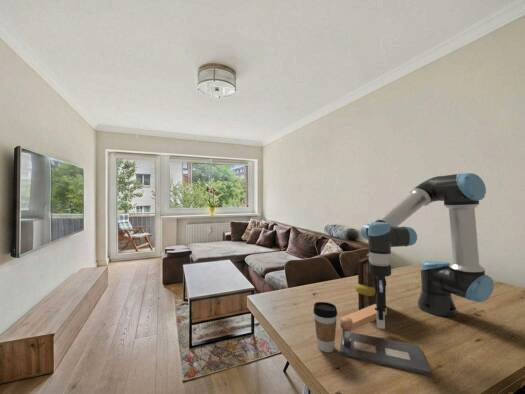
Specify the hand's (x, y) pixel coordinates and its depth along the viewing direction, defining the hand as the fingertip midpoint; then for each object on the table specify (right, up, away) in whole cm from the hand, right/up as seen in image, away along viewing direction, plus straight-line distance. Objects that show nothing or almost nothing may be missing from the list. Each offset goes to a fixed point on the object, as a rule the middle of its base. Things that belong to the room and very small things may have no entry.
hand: (380, 327), depth 86 cm
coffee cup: (-21, -6, -3) cm, 22 cm away
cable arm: (-5, +1, +3) cm, 6 cm away
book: (+9, -7, +25) cm, 27 cm away
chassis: (-3, -6, -6) cm, 8 cm away
